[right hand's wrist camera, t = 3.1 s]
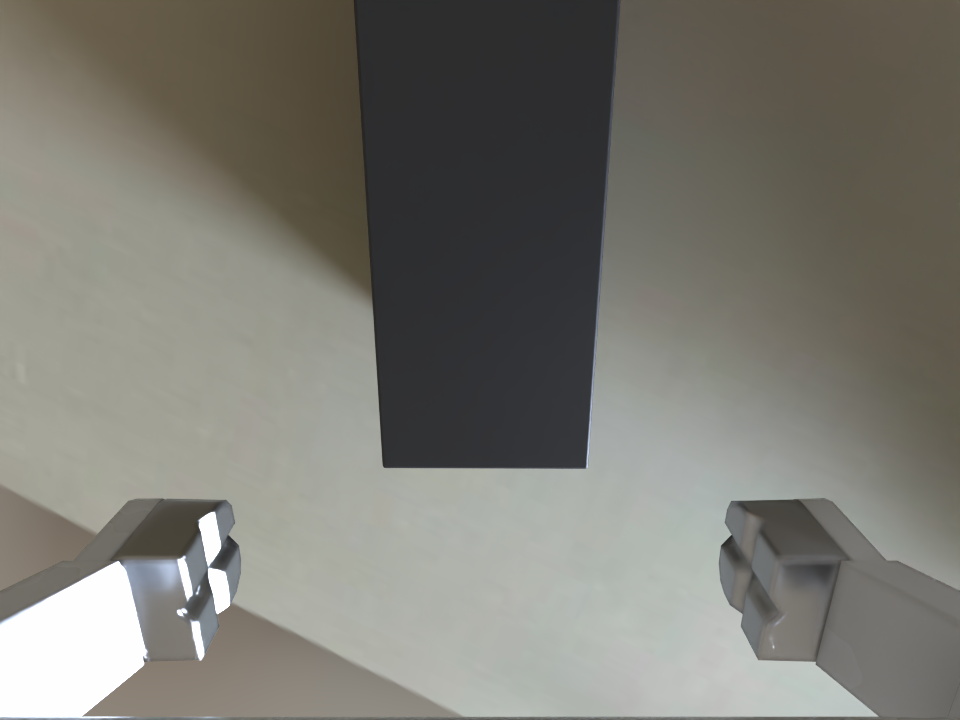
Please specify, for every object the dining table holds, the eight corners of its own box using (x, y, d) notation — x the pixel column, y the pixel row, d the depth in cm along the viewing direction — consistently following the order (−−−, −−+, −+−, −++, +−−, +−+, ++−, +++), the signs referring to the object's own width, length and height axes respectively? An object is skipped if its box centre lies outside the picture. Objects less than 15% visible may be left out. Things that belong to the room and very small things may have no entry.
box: (549, 338, 30) (588, 469, 19) (420, 338, 30) (382, 469, 19) (571, -189, 23) (654, -481, 12) (401, -189, 23) (323, -479, 12)
